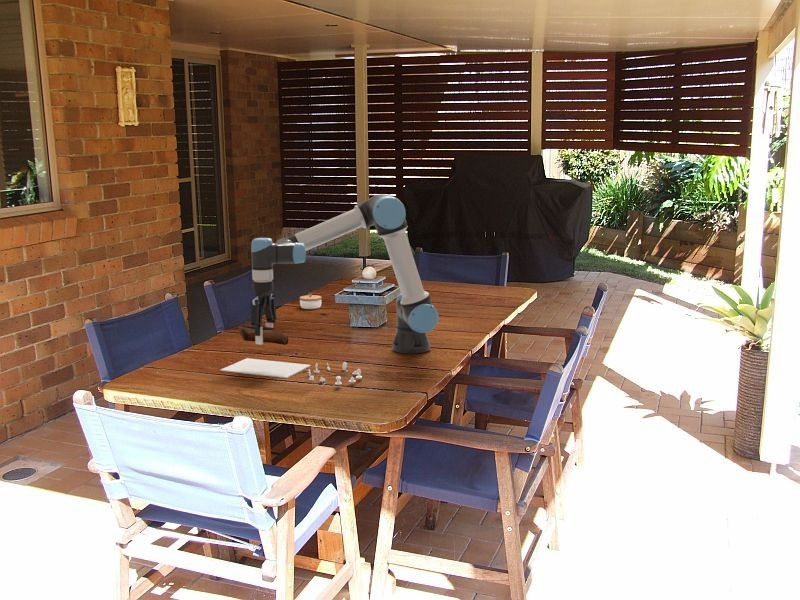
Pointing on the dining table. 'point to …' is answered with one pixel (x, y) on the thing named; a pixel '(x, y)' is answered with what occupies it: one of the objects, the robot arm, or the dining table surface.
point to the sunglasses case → (264, 334)
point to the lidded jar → (310, 301)
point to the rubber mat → (266, 368)
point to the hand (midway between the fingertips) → (264, 341)
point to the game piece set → (337, 376)
